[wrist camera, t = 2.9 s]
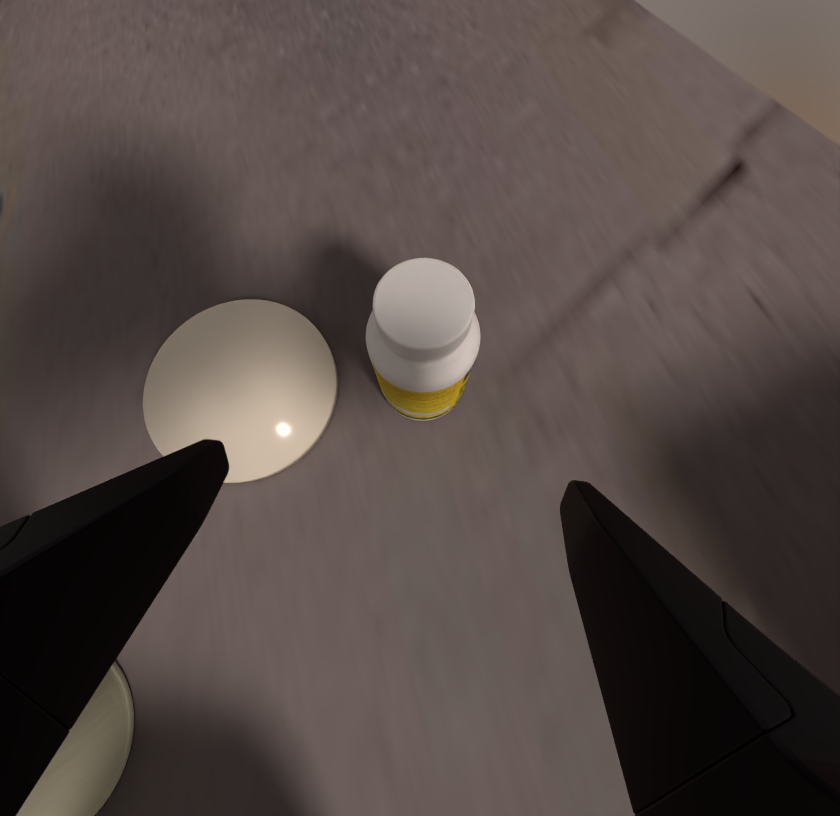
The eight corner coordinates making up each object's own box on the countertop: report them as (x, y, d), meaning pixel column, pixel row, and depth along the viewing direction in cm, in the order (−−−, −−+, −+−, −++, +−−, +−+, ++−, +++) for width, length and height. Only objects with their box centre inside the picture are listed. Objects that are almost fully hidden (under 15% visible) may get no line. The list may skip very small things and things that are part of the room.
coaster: (376, 378, 23) (374, 373, 22) (242, 525, 21) (233, 526, 20) (250, 276, 25) (244, 267, 24) (116, 400, 23) (103, 396, 22)
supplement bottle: (468, 419, 22) (501, 363, 13) (383, 425, 22) (352, 373, 13) (460, 340, 24) (484, 237, 14) (380, 346, 24) (350, 245, 14)
